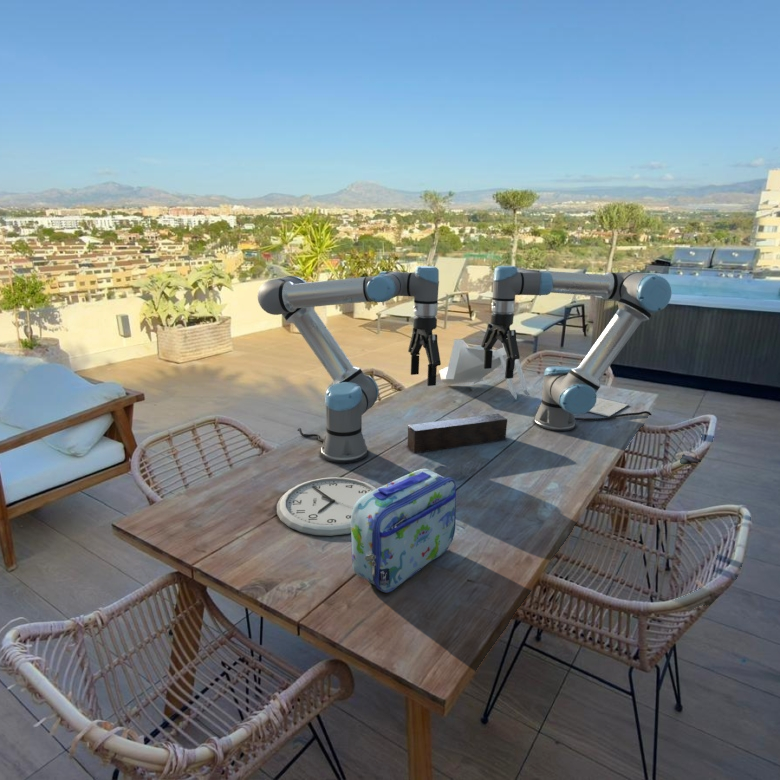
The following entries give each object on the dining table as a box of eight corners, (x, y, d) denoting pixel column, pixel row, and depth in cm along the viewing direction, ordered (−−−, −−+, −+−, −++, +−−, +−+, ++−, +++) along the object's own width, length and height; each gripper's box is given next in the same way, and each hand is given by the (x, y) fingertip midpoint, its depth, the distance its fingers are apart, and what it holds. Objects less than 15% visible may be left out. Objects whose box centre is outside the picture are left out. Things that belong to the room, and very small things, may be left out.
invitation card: (608, 416, 214) (573, 407, 224) (608, 416, 214) (573, 408, 224) (628, 404, 229) (594, 396, 238) (628, 405, 229) (594, 397, 238)
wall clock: (392, 527, 129) (268, 531, 127) (391, 533, 130) (269, 537, 127) (383, 473, 158) (282, 475, 155) (383, 478, 158) (282, 480, 156)
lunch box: (379, 605, 105) (380, 513, 99) (344, 580, 112) (343, 493, 106) (459, 552, 123) (464, 471, 116) (425, 533, 130) (428, 456, 124)
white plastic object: (461, 429, 252) (437, 405, 227) (444, 352, 274) (420, 323, 250) (535, 404, 240) (518, 377, 215) (510, 326, 262) (492, 293, 237)
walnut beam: (496, 433, 195) (498, 413, 192) (505, 439, 189) (507, 419, 187) (407, 446, 182) (408, 424, 180) (414, 453, 177) (415, 431, 174)
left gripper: (399, 310, 177) (398, 370, 183) (431, 323, 155) (428, 391, 161) (420, 309, 180) (417, 369, 186) (453, 322, 157) (450, 389, 164)
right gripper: (474, 307, 187) (470, 365, 193) (514, 319, 165) (509, 383, 171) (492, 307, 189) (488, 363, 196) (534, 317, 167) (528, 381, 174)
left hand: (422, 379), depth 174 cm, fingers open, 13 cm apart
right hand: (497, 373), depth 183 cm, fingers open, 13 cm apart
